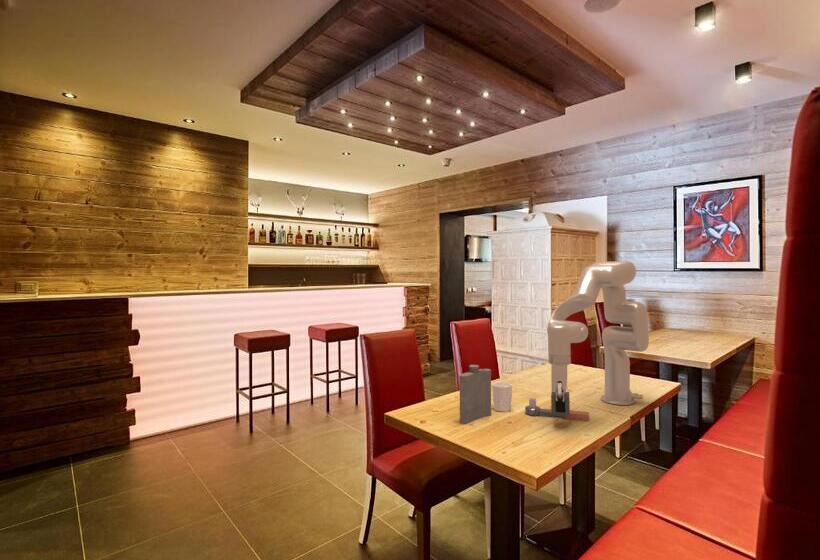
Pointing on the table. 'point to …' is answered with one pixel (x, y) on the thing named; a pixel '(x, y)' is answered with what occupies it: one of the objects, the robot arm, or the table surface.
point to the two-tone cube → (567, 404)
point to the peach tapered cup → (502, 396)
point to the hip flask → (475, 394)
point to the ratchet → (536, 411)
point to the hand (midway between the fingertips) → (560, 408)
